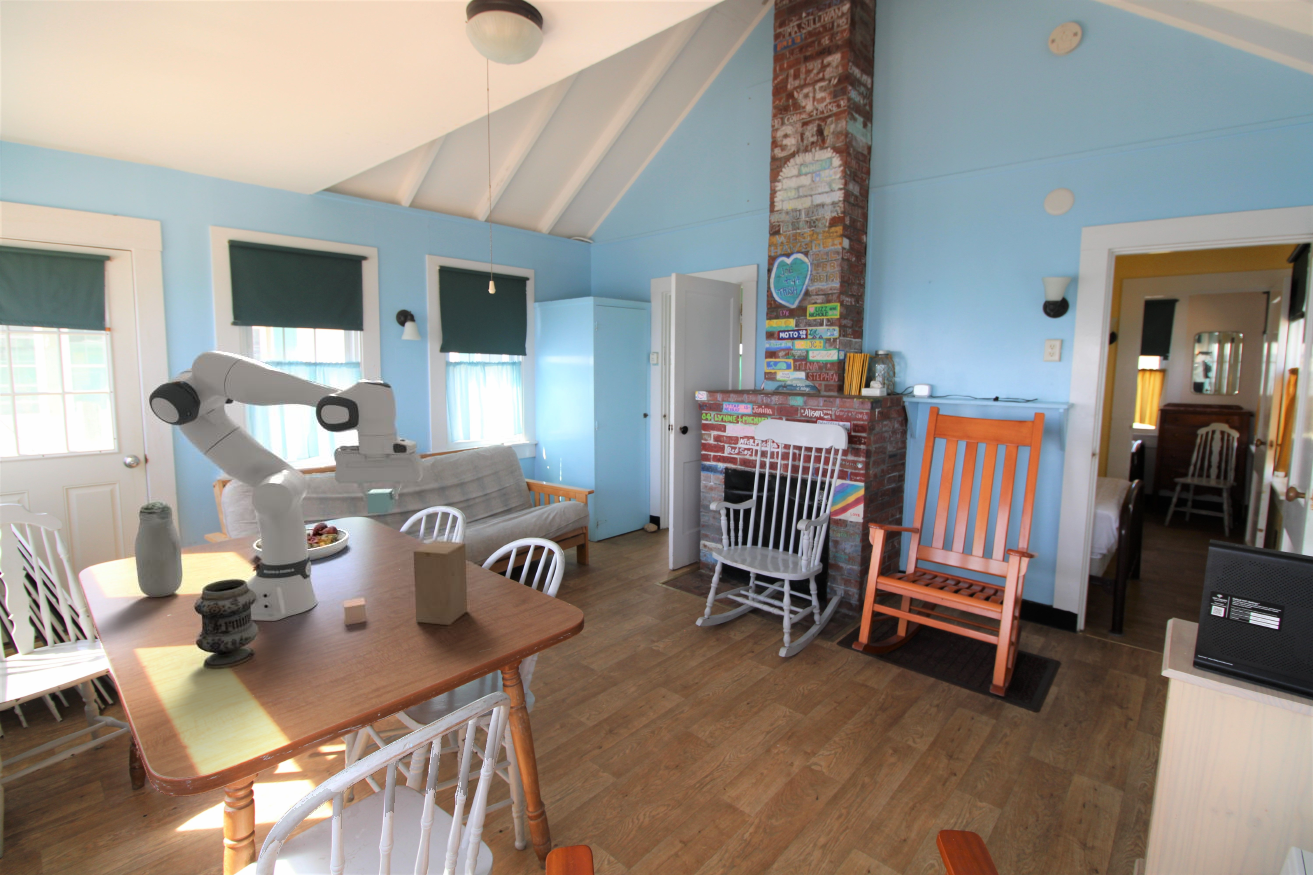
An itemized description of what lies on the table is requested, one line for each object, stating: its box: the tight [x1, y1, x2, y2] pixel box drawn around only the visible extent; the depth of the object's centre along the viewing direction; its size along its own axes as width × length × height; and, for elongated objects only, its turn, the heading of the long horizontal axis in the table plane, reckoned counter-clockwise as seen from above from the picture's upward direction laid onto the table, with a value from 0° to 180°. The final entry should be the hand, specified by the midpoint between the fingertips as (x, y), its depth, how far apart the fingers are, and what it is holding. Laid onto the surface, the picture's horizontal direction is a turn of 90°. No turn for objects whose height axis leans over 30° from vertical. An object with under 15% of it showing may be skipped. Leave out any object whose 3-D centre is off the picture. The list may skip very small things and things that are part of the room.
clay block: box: [343, 597, 367, 626], centre depth 166 cm, size 5×5×5 cm
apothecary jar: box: [193, 578, 259, 669], centre depth 143 cm, size 12×12×18 cm
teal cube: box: [366, 488, 395, 514], centre depth 154 cm, size 5×5×5 cm
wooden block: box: [413, 540, 468, 626], centre depth 168 cm, size 10×10×20 cm
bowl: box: [252, 522, 350, 561], centre depth 223 cm, size 30×30×8 cm
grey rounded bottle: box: [134, 501, 183, 598], centre depth 180 cm, size 10×10×28 cm
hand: (381, 499), depth 154 cm, fingers closed on teal cube, 5 cm apart
